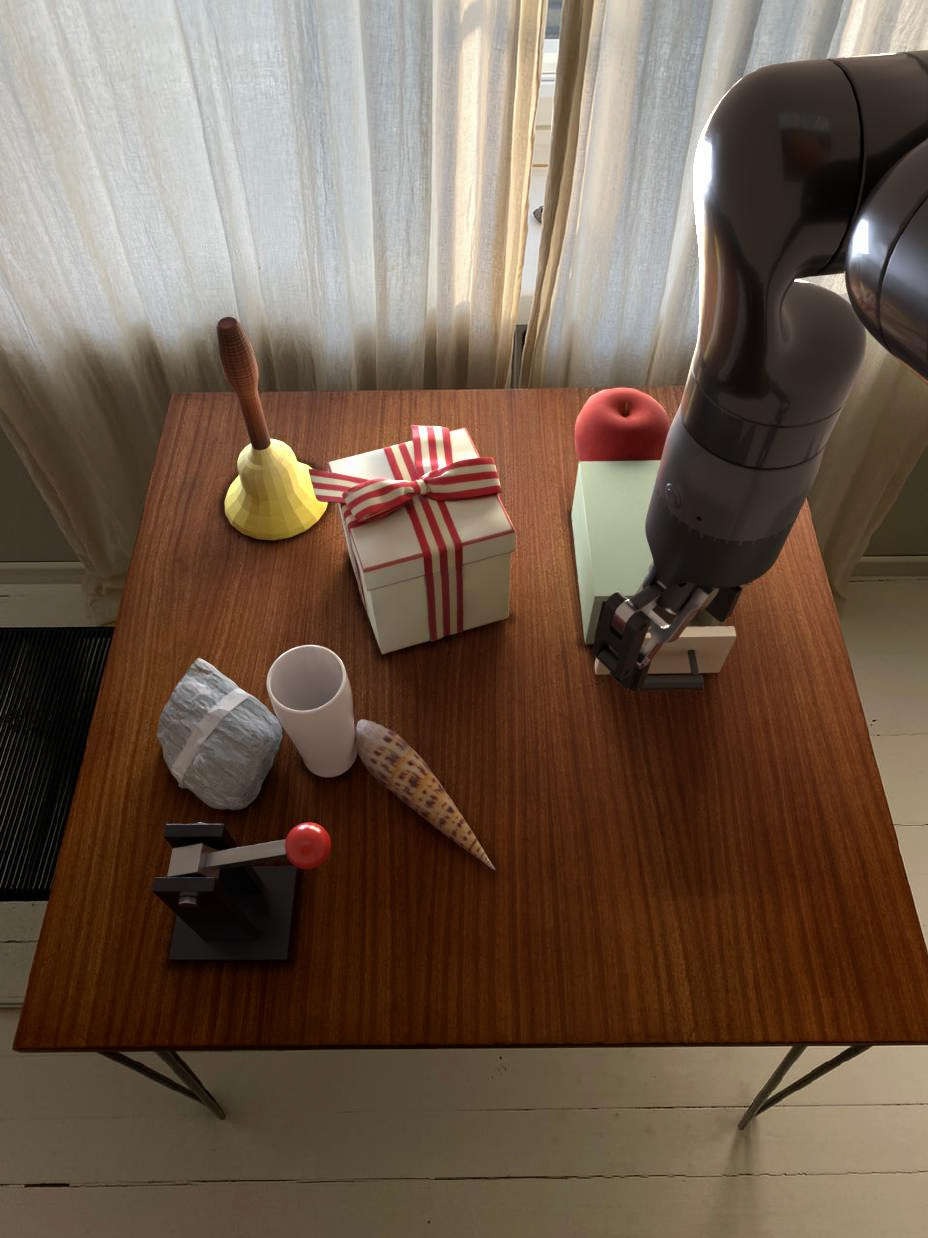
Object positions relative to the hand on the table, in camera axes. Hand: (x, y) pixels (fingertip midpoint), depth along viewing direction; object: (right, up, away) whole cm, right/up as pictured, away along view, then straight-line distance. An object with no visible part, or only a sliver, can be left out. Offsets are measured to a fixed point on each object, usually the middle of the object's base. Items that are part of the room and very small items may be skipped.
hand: (671, 644), depth 59 cm
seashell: (-18, -16, +23) cm, 33 cm away
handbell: (-36, +16, +44) cm, 59 cm away
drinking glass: (-27, -12, +26) cm, 39 cm away
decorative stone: (-37, -11, +27) cm, 47 cm away
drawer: (+6, +1, +33) cm, 34 cm away
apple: (+4, +19, +46) cm, 50 cm away
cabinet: (+5, +7, +38) cm, 39 cm away
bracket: (-34, -24, +18) cm, 45 cm away
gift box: (-19, +6, +38) cm, 43 cm away
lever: (-29, -16, +5) cm, 33 cm away
